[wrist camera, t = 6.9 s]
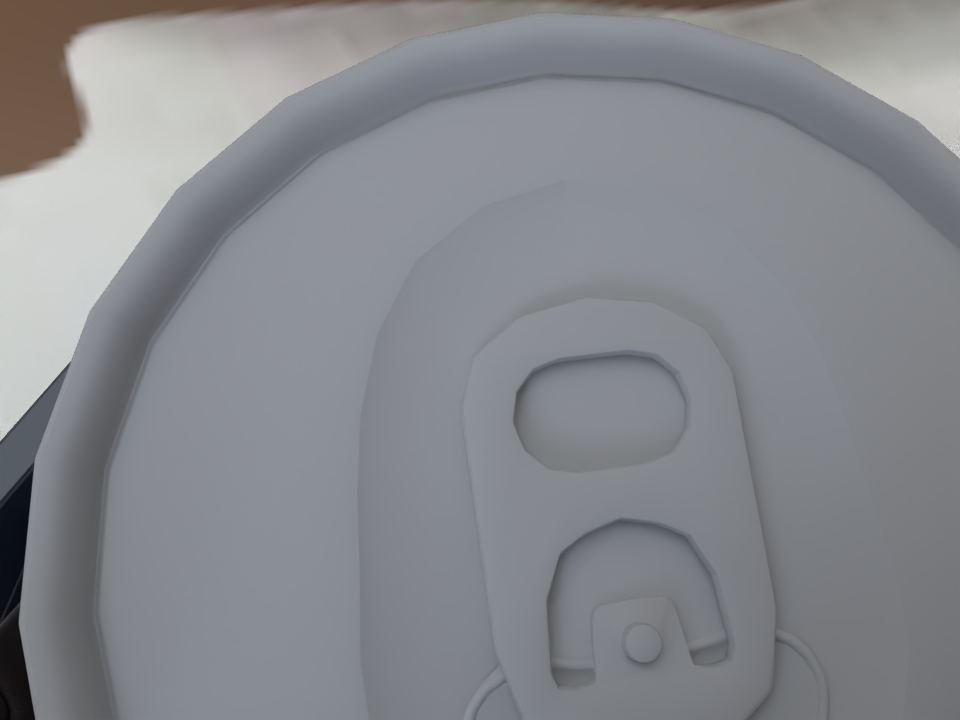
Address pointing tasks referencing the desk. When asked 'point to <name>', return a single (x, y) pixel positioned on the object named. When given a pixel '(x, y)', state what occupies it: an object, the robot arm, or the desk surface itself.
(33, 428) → the pan
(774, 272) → the beverage can
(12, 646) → the robot arm
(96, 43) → the desk surface
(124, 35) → the desk surface
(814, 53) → the desk surface
